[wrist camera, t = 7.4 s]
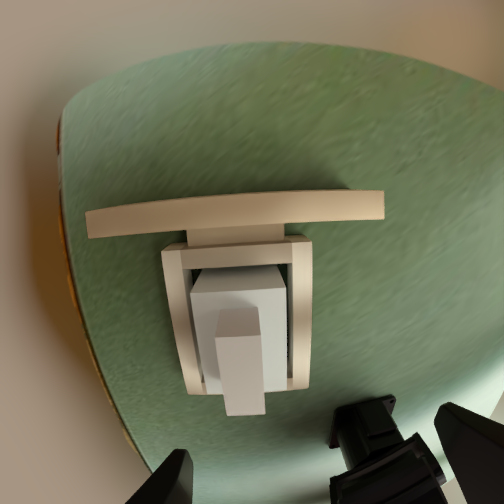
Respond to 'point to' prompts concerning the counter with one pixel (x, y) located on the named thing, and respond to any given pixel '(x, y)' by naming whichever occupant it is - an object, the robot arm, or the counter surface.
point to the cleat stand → (238, 253)
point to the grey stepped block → (241, 334)
